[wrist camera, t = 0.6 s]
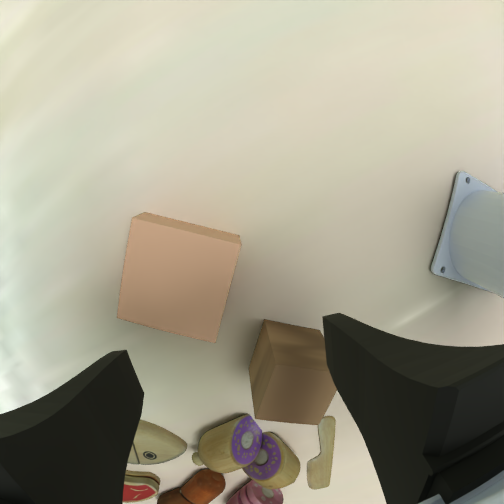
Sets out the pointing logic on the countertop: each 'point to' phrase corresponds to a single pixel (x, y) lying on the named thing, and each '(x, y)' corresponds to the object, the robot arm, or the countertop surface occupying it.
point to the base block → (177, 276)
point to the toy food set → (226, 463)
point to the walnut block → (290, 375)
